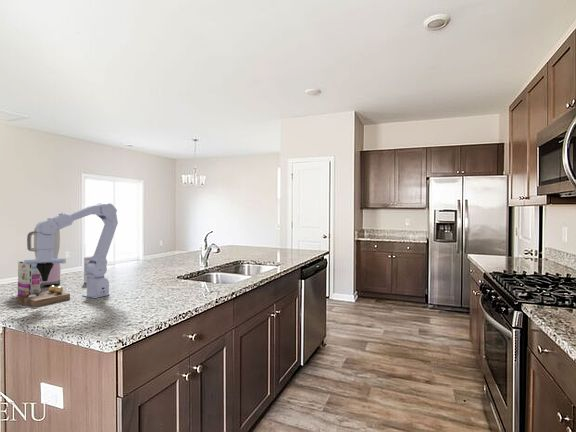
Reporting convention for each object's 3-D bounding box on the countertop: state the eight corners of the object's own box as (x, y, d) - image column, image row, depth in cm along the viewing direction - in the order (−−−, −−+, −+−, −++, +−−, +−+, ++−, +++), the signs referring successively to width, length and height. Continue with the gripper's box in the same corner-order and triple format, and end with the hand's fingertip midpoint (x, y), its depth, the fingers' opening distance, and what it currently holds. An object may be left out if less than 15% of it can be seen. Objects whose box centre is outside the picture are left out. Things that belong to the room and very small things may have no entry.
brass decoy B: (58, 292, 152) (58, 285, 152) (50, 293, 149) (50, 286, 149) (54, 291, 154) (54, 284, 154) (46, 292, 151) (46, 285, 151)
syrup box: (93, 283, 184) (94, 257, 184) (83, 283, 184) (83, 257, 184) (99, 281, 190) (100, 255, 190) (89, 281, 190) (90, 255, 190)
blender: (51, 281, 186) (52, 224, 186) (65, 284, 181) (66, 225, 181) (19, 287, 171) (20, 225, 171) (34, 289, 167) (34, 226, 166)
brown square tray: (69, 299, 150) (70, 293, 150) (34, 306, 137) (34, 300, 137) (51, 295, 156) (51, 290, 156) (15, 302, 143) (15, 296, 143)
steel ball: (29, 292, 146) (34, 296, 148) (24, 298, 143) (29, 302, 145) (35, 292, 145) (40, 297, 147) (29, 299, 142) (34, 303, 144)
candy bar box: (42, 297, 153) (42, 261, 153) (29, 299, 148) (29, 262, 148) (29, 294, 158) (29, 259, 158) (16, 296, 154) (17, 260, 154)
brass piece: (64, 293, 150) (64, 286, 150) (57, 295, 147) (57, 287, 147) (60, 292, 151) (60, 285, 151) (53, 294, 149) (53, 287, 149)
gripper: (67, 247, 148) (67, 278, 148) (27, 248, 142) (27, 280, 142) (63, 249, 141) (63, 281, 141) (21, 250, 136) (21, 283, 136)
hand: (45, 280), depth 141 cm, fingers closed
